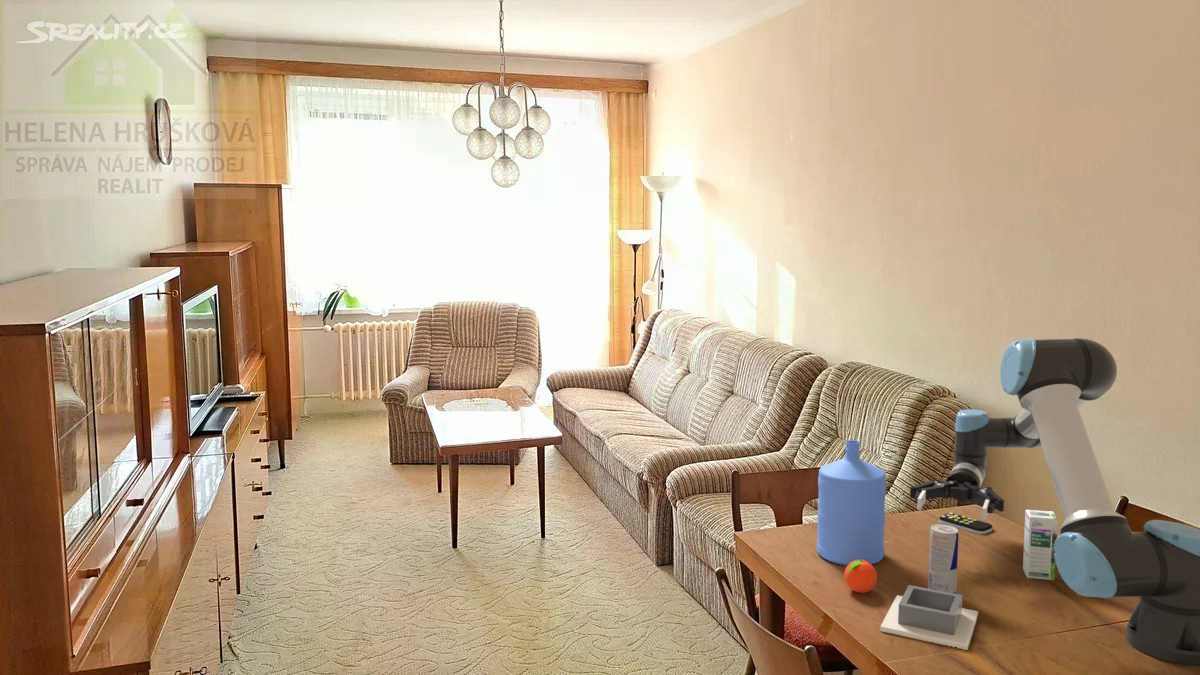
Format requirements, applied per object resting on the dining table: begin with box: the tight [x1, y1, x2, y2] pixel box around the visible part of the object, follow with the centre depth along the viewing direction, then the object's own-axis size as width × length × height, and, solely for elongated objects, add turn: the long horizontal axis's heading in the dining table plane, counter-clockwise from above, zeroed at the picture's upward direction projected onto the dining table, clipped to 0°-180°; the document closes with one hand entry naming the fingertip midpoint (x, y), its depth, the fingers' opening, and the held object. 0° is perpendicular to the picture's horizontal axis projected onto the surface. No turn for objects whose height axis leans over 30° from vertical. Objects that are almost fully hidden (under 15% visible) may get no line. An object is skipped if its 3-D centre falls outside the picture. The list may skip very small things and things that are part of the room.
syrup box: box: [1022, 509, 1059, 582], centre depth 194 cm, size 6×6×14 cm
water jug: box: [816, 440, 887, 566], centre depth 207 cm, size 16×16×28 cm
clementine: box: [843, 560, 878, 594], centre depth 187 cm, size 8×7×7 cm
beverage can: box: [927, 523, 959, 594], centre depth 185 cm, size 6×6×15 cm
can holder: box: [879, 584, 979, 651], centre depth 173 cm, size 16×16×5 cm
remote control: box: [938, 512, 994, 535], centre depth 227 cm, size 6×13×2 cm, turn 37°
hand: (950, 509), depth 192 cm, fingers open, 13 cm apart
